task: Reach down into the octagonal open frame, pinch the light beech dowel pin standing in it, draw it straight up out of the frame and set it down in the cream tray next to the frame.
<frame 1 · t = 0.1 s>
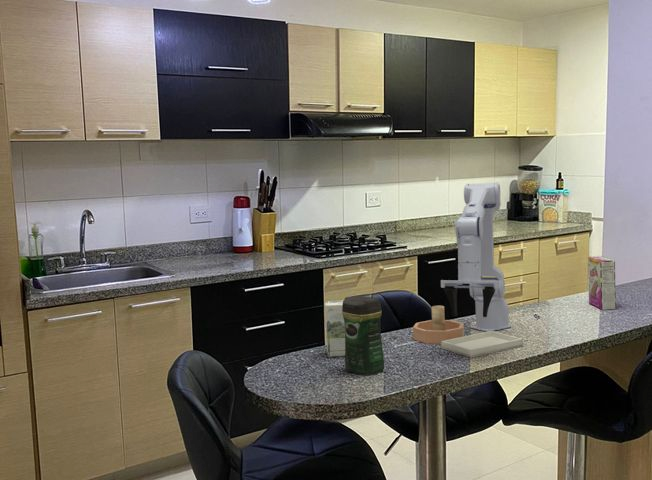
hand: (469, 316, 165), 11 cm above the countertop, tool pointing down, fingers open, 7 cm apart
octagonal open frame: (438, 337, 187), on the countertop
syrup box: (338, 355, 175), on the countertop
coffee jar: (364, 371, 159), on the countertop
cream tray: (482, 347, 174), on the countertop
candy bar box: (601, 307, 216), on the countertop
wooden pin: (438, 322, 187), in the octagonal open frame
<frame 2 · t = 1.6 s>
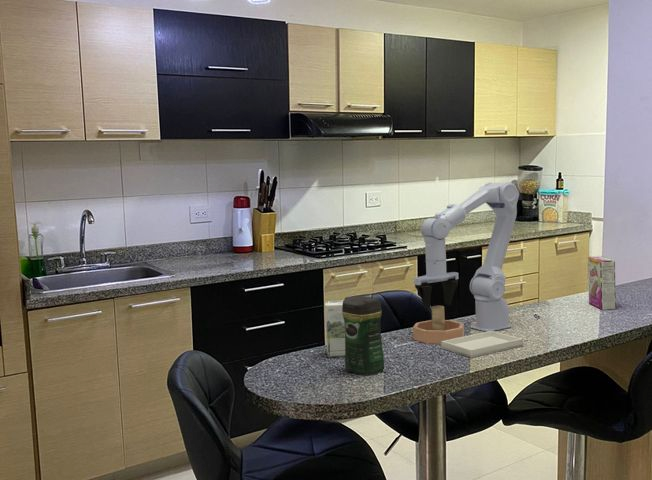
hand: (437, 306, 186), 9 cm above the countertop, tool pointing down, fingers open, 7 cm apart
nothing on the countertop moved.
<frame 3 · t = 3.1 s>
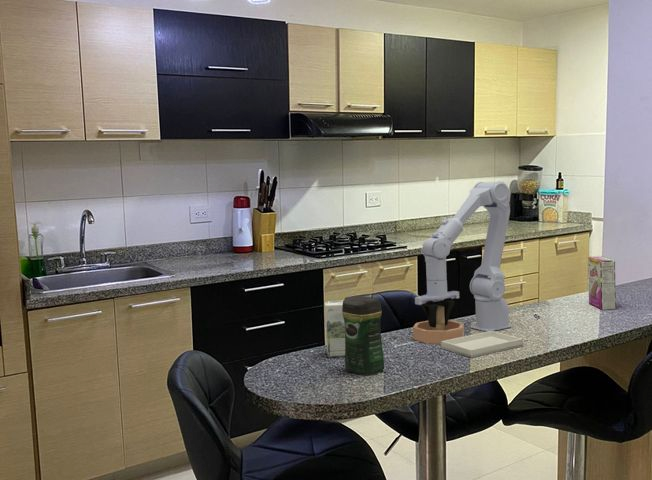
hand: (438, 325, 187), 3 cm above the countertop, tool pointing down, fingers closed on wooden pin, 4 cm apart
wooden pin: (438, 322, 187), in the octagonal open frame, touching gripper
everything else where it was.
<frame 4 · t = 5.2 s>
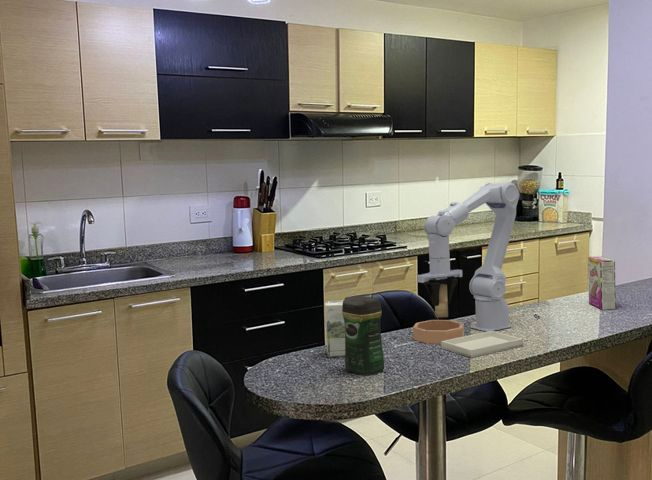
hand: (441, 304, 185), 10 cm above the countertop, tool pointing down, fingers closed on wooden pin, 4 cm apart
wooden pin: (441, 300, 185), point 11 cm above the countertop, touching gripper
everything else where it was.
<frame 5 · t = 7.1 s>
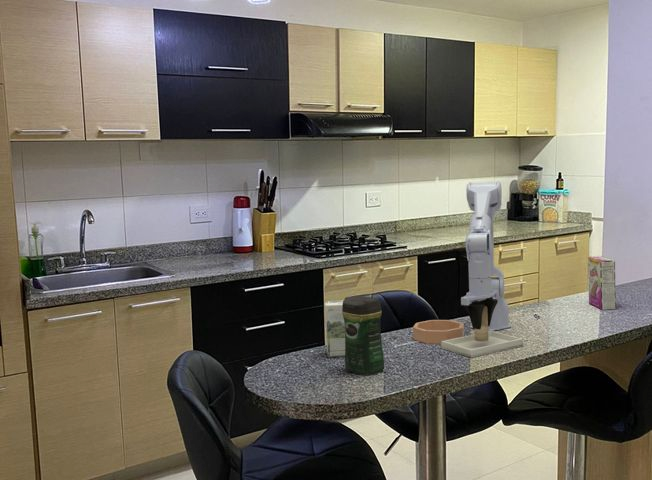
hand: (481, 327, 174), 6 cm above the countertop, tool pointing down, fingers closed on wooden pin, 4 cm apart
wooden pin: (480, 323, 174), point 7 cm above the countertop, touching gripper
everything else where it was.
when the fingers open (6 cm above the countertop, at t = 7.6 s): wooden pin drops 1 cm, resting on cream tray.
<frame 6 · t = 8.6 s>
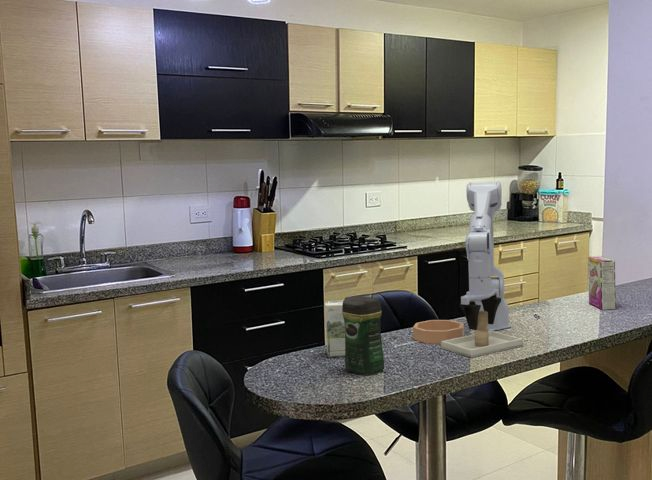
hand: (481, 326, 174), 6 cm above the countertop, tool pointing down, fingers open, 7 cm apart
wooden pin: (481, 328, 174), in the cream tray, point 5 cm above the countertop
everything else where it was.
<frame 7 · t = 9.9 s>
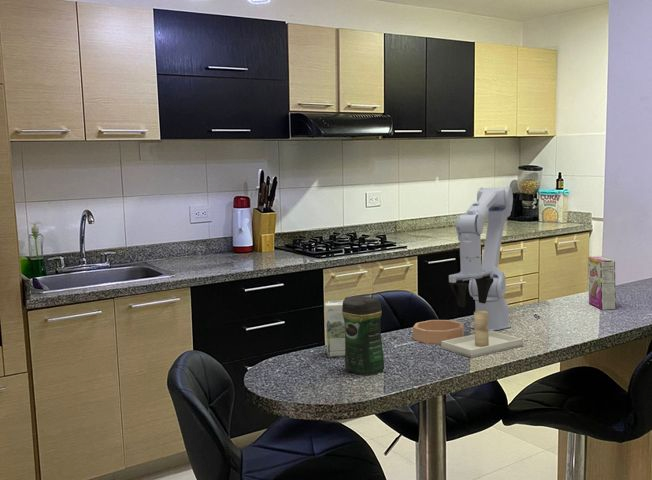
hand: (472, 304, 182), 10 cm above the countertop, tool pointing down, fingers open, 7 cm apart
nothing on the countertop moved.
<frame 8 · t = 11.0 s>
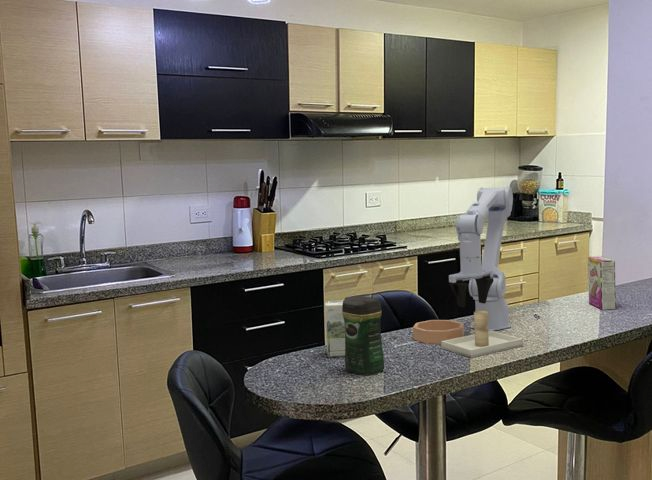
hand: (472, 304, 182), 10 cm above the countertop, tool pointing down, fingers open, 7 cm apart
nothing on the countertop moved.
at the end: wooden pin inside the target area on the cream tray (0.1 cm from its centre), point 5.1 cm above the cream tray's base; the gripper is holding nothing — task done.
